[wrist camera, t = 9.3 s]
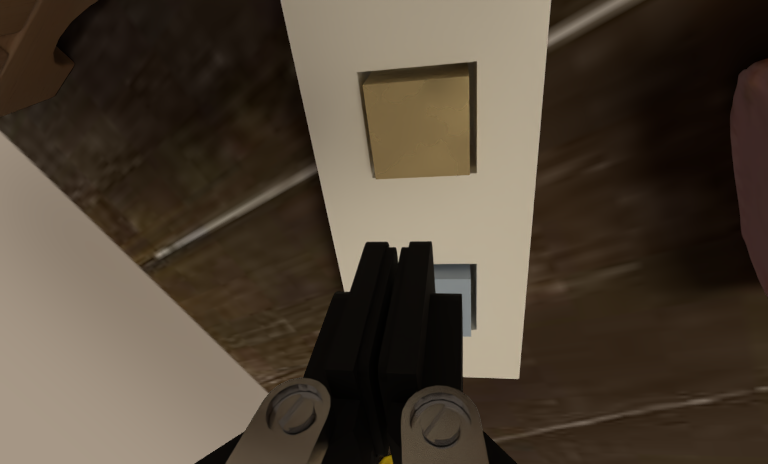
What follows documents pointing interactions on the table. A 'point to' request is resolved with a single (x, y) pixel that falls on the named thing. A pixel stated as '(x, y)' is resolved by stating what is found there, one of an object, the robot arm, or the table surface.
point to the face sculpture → (752, 162)
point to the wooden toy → (33, 50)
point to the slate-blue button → (456, 287)
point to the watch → (387, 460)
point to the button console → (444, 193)
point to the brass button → (419, 121)
